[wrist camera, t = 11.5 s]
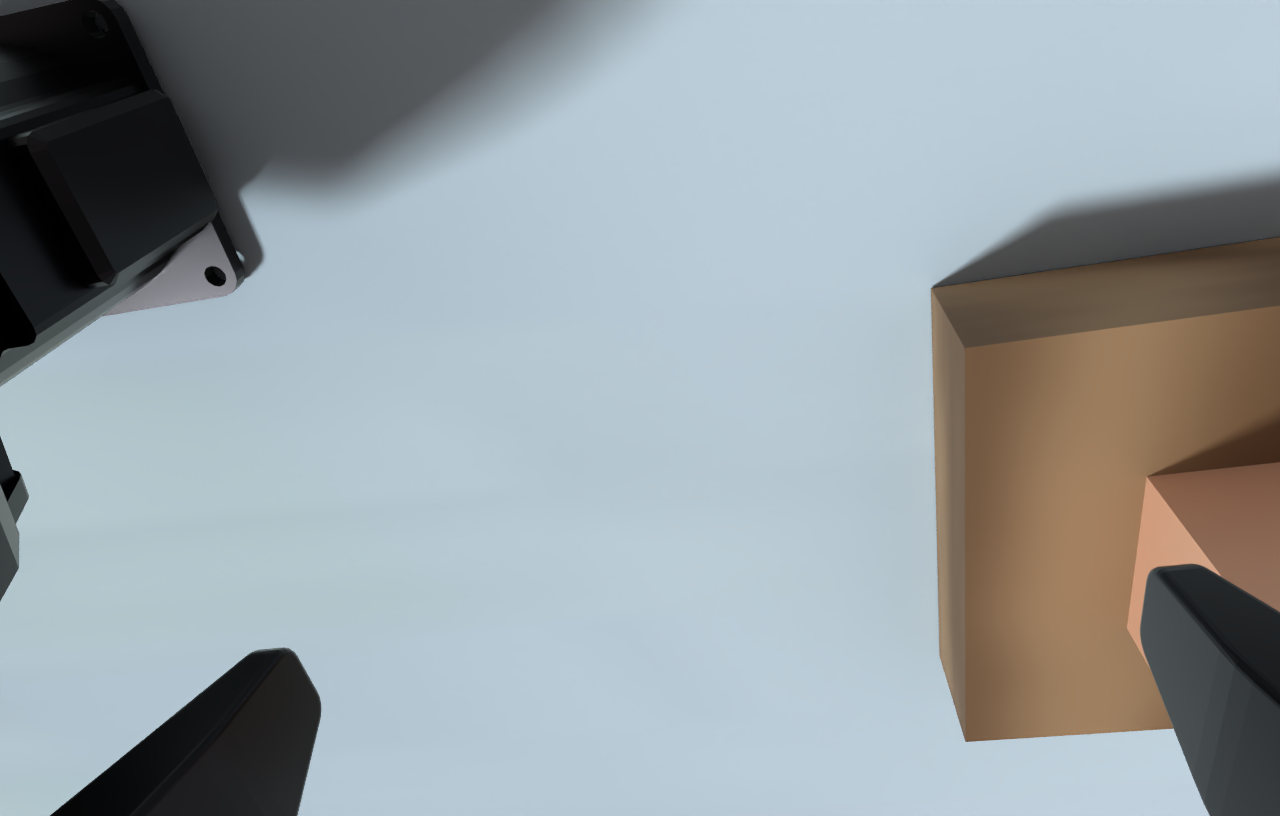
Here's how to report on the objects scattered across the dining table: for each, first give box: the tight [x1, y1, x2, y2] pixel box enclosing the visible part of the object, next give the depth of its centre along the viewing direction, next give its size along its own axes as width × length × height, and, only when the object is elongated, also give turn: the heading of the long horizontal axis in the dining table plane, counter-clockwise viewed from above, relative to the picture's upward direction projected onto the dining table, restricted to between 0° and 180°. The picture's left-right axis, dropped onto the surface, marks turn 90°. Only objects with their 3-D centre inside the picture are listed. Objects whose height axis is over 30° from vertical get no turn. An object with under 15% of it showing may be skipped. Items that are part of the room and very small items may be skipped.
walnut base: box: [931, 237, 1280, 742], centre depth 20 cm, size 12×12×3 cm
